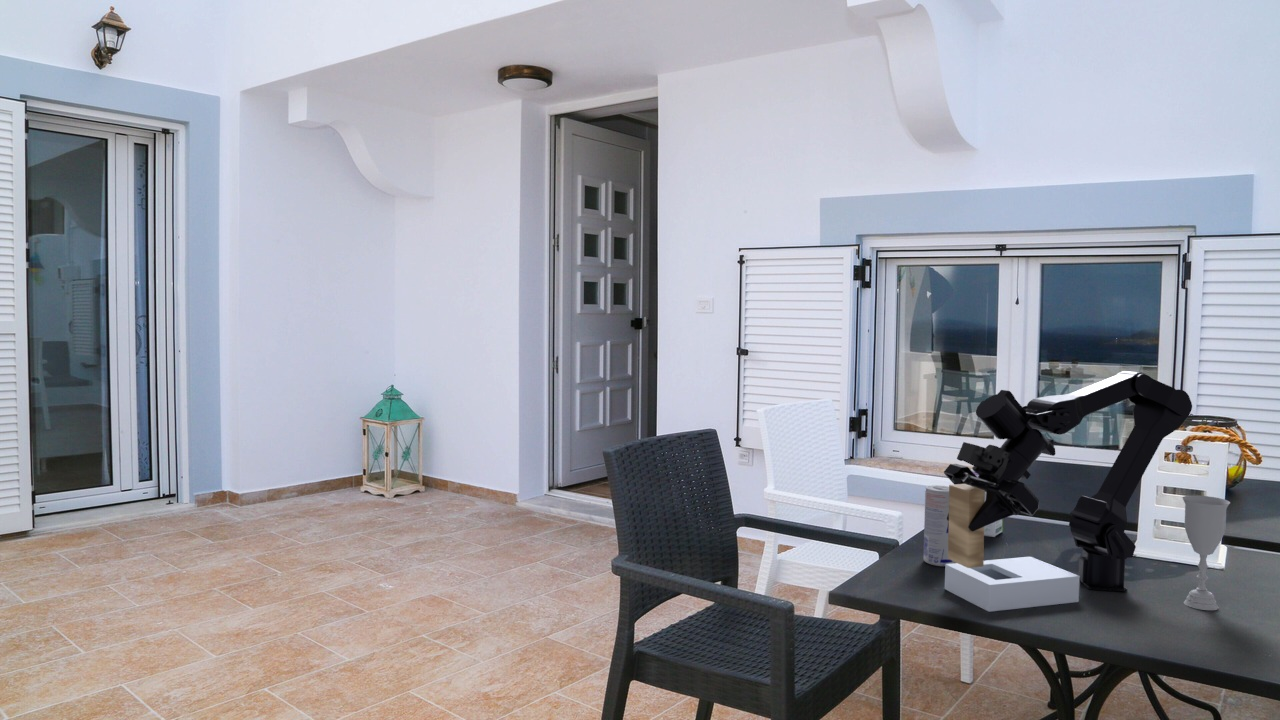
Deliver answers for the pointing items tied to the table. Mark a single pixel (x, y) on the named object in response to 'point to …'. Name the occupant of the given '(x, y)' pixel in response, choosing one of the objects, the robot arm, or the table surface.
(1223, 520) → the chalice
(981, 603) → the box
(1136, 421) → the robot arm
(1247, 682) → the table surface
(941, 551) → the beverage can
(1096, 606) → the table surface
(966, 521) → the plate
